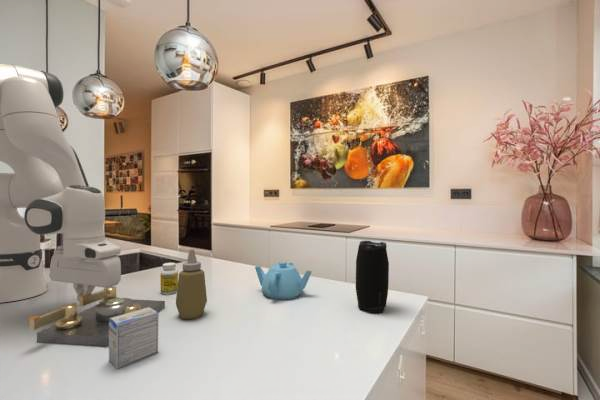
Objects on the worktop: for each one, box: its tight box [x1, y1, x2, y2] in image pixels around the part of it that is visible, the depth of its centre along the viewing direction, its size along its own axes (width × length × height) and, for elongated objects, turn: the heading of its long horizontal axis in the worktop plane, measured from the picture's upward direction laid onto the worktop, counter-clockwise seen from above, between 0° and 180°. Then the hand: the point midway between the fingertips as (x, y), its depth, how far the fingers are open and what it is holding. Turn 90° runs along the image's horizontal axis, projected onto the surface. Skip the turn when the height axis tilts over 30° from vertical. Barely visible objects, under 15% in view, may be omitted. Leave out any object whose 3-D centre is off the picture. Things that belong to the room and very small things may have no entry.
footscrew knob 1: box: [28, 302, 82, 331], centre depth 66 cm, size 10×5×5 cm, turn 168°
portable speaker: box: [355, 240, 390, 315], centre depth 86 cm, size 9×9×20 cm
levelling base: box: [36, 297, 166, 348], centre depth 75 cm, size 17×22×6 cm
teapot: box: [254, 261, 313, 301], centre depth 99 cm, size 15×15×11 cm
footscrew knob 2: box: [78, 286, 120, 307], centre depth 79 cm, size 10×5×5 cm, turn 163°
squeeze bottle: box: [175, 248, 208, 320], centre depth 80 cm, size 8×8×18 cm
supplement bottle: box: [160, 262, 179, 296], centre depth 99 cm, size 5×5×10 cm
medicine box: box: [108, 307, 160, 370], centre depth 59 cm, size 8×4×9 cm, turn 141°
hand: (84, 300), depth 77 cm, fingers closed
